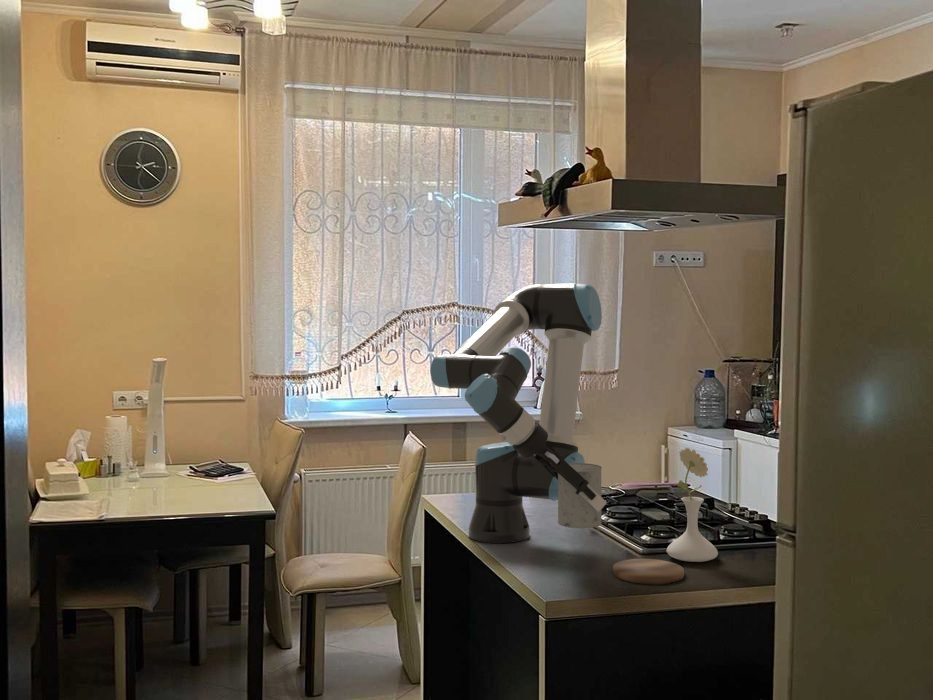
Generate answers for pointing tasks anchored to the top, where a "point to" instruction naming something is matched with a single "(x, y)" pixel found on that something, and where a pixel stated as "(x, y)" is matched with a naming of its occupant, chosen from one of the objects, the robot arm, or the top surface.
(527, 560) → the top surface
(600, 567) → the top surface
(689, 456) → the flower in vase
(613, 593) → the top surface
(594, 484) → the white speckled cylinder
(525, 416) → the robot arm
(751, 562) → the top surface
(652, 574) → the walnut board
